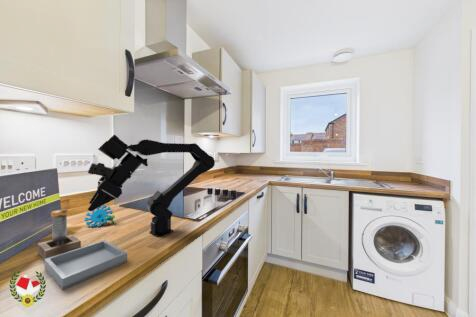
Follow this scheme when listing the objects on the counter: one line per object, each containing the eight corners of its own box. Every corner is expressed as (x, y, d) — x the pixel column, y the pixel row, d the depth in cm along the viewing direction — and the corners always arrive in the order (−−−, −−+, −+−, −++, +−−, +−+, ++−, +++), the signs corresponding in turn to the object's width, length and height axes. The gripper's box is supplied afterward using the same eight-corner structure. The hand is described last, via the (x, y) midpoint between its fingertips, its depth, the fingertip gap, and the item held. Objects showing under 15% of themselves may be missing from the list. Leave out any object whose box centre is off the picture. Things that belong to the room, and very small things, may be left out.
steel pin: (65, 247, 62) (65, 208, 62) (69, 251, 60) (69, 210, 60) (49, 252, 59) (49, 211, 59) (53, 256, 57) (53, 214, 56)
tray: (104, 247, 62) (104, 239, 62) (127, 261, 55) (127, 252, 55) (44, 268, 51) (44, 259, 51) (62, 290, 43) (62, 278, 43)
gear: (78, 224, 78) (93, 202, 85) (84, 230, 82) (98, 209, 89) (106, 228, 78) (118, 206, 85) (110, 233, 83) (122, 212, 90)
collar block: (71, 243, 65) (71, 234, 65) (80, 250, 61) (80, 240, 60) (37, 253, 58) (37, 243, 58) (45, 261, 54) (45, 251, 54)
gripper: (103, 153, 72) (68, 188, 66) (104, 153, 56) (58, 199, 51) (130, 171, 77) (99, 205, 71) (137, 176, 61) (98, 220, 56)
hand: (89, 206), depth 62 cm, fingers open, 9 cm apart
